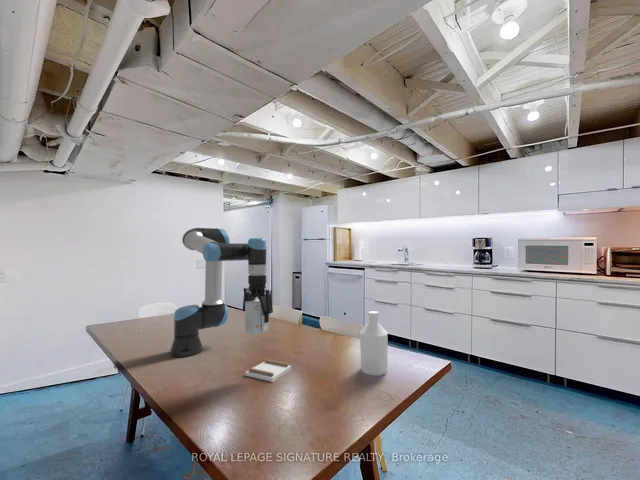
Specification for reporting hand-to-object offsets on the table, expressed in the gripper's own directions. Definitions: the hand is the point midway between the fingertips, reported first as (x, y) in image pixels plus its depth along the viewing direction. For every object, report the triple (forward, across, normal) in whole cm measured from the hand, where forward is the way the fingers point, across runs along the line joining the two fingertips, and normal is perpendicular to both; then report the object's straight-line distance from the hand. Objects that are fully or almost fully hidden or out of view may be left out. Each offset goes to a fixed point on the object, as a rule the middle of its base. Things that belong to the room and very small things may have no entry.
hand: (257, 329), depth 125 cm
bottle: (+20, +41, +28) cm, 54 cm away
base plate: (+19, +2, +5) cm, 20 cm away
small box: (+1, 0, 0) cm, 1 cm away
